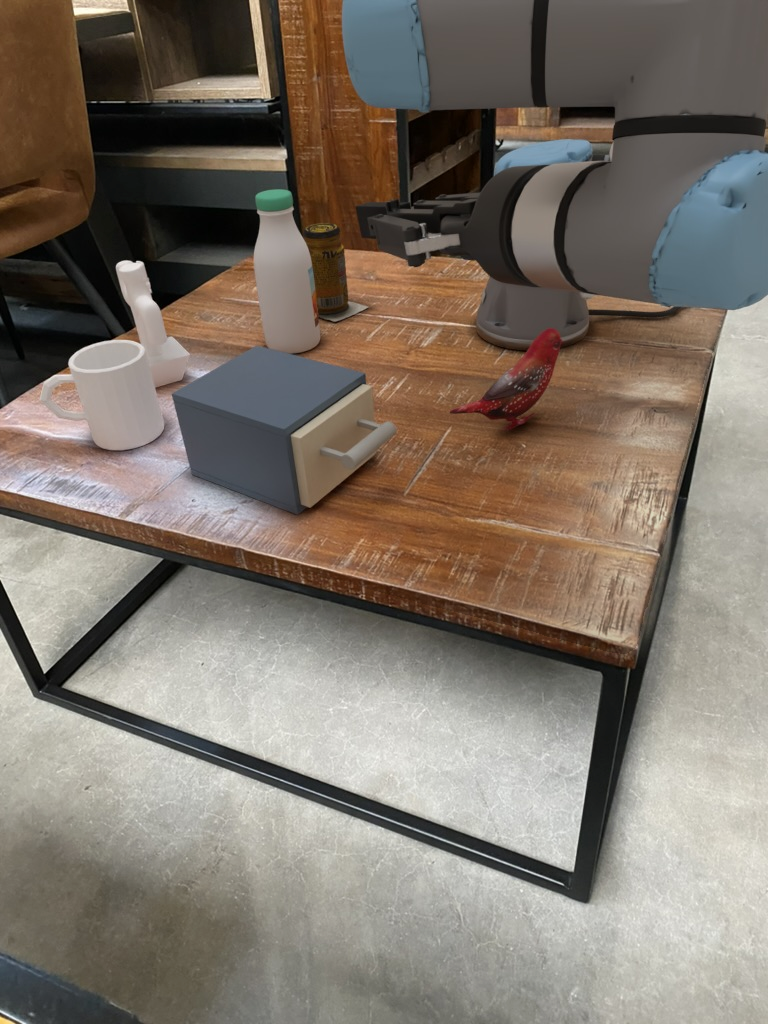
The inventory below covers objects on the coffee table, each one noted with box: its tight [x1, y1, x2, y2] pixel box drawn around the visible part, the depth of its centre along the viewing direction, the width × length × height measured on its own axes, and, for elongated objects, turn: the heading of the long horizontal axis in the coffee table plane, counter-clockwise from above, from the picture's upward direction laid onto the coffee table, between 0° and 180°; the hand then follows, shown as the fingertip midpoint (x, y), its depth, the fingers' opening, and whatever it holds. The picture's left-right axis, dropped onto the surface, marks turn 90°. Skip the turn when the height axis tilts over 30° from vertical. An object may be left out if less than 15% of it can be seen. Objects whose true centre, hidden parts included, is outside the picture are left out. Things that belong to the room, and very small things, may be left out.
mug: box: [38, 339, 165, 451], centre depth 86 cm, size 8×12×10 cm
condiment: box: [302, 222, 369, 322], centre depth 113 cm, size 7×8×12 cm
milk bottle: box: [253, 188, 321, 355], centre depth 101 cm, size 8×8×20 cm
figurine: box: [115, 259, 191, 389], centre depth 96 cm, size 7×9×15 cm
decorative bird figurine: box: [449, 328, 563, 433], centre depth 81 cm, size 3×18×10 cm, turn 132°
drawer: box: [291, 384, 397, 508], centre depth 77 cm, size 18×11×8 cm, turn 56°
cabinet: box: [171, 345, 367, 516], centre depth 79 cm, size 15×13×10 cm
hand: (365, 220), depth 68 cm, fingers closed
